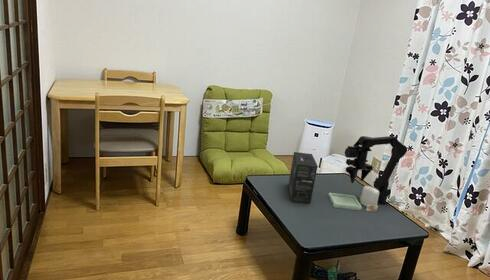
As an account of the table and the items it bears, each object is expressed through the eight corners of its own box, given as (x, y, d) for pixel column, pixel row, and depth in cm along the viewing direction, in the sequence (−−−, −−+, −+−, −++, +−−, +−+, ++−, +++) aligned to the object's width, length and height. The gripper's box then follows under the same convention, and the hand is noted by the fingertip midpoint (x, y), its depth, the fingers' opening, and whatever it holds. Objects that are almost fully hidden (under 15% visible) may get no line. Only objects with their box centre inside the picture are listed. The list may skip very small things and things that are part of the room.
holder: (368, 201, 235) (370, 196, 234) (376, 211, 221) (377, 206, 220) (359, 200, 235) (360, 195, 234) (366, 210, 221) (367, 205, 220)
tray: (353, 199, 236) (354, 195, 235) (361, 210, 220) (361, 206, 220) (328, 196, 235) (329, 192, 235) (334, 207, 220) (334, 203, 219)
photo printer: (358, 203, 231) (362, 184, 227) (362, 202, 233) (366, 183, 230) (373, 210, 223) (377, 191, 220) (377, 208, 226) (381, 189, 223)
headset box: (311, 203, 221) (318, 162, 214) (290, 201, 221) (297, 159, 214) (305, 188, 243) (312, 150, 236) (287, 186, 243) (293, 148, 236)
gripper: (360, 151, 236) (356, 175, 240) (340, 155, 225) (336, 179, 229) (375, 157, 227) (370, 181, 232) (355, 161, 217) (351, 186, 221)
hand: (356, 181), depth 229 cm, fingers open, 9 cm apart
